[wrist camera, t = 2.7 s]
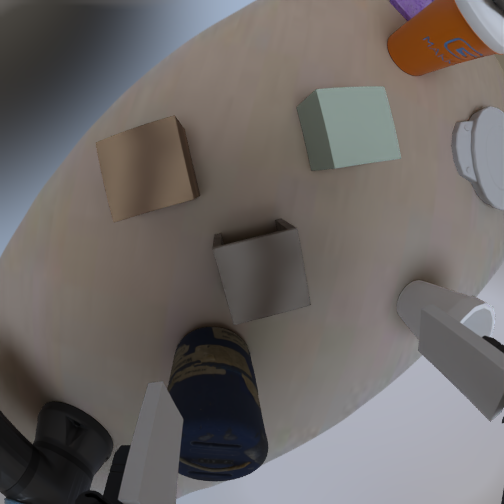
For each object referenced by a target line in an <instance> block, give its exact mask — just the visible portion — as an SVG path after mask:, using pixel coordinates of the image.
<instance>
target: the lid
mask: <svg viewBox="0 0 504 504" xmlns="http://www.w3.org/2000/svg"><path fill="white" fill-rule="evenodd" d="M451 147H452V153H453V159H454V163H455V165H456V168H457V171H458V173H459V175H461V176H462V177H464V178H465V179H467V180H468V181H470V182H471V183H472V185H473V187H474V189H475V191H476V193H477V195H478V196H479V197H480V198H481V199H482V201H483V202H484V203H486V204H489V205H491V206H492V207H494V208H497V209H499V210H504V113H503V112H502V111H501V110H500V109H498V108H495V107H491V106H488V107H486V108H484V109H481V110H480V111H478V112H476V113H474V114H473V115H472V116H471V118H470V119H469V121H465V122H457V123H456V125H455V127H454V130H453V133H452V145H451Z"/></svg>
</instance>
